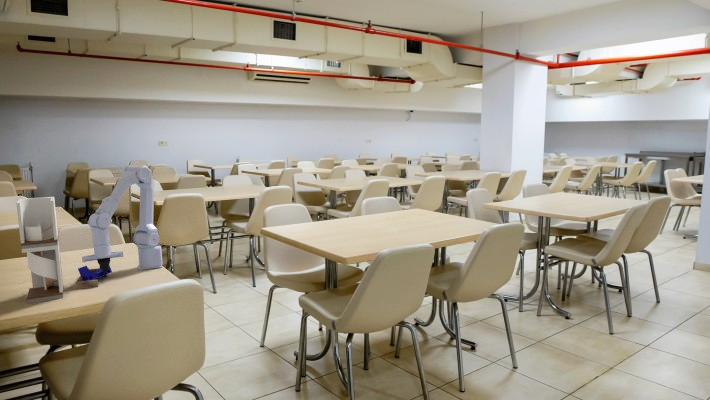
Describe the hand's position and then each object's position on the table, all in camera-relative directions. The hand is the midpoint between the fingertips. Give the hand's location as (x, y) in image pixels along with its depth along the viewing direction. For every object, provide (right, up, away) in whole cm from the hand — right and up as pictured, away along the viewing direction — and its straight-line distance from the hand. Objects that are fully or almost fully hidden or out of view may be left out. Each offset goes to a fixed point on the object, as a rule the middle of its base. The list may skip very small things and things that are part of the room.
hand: (105, 276), depth 198 cm
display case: (-12, -4, -18) cm, 22 cm away
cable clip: (-3, -1, 0) cm, 3 cm away
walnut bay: (-4, -1, -1) cm, 4 cm away
